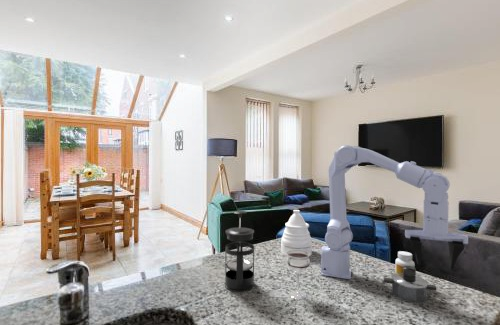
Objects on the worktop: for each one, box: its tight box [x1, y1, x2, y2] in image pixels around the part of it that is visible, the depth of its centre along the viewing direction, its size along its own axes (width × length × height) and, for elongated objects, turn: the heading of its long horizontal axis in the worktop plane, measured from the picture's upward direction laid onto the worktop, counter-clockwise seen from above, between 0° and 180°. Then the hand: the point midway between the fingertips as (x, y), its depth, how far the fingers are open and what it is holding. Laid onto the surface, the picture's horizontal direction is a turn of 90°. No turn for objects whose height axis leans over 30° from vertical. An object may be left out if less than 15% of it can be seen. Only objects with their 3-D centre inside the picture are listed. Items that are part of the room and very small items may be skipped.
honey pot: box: [280, 209, 313, 257], centre depth 116 cm, size 13×13×18 cm
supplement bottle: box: [394, 250, 416, 274], centre depth 87 cm, size 5×5×10 cm
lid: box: [391, 266, 429, 289], centre depth 80 cm, size 9×9×4 cm
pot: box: [383, 277, 437, 304], centre depth 80 cm, size 13×9×4 cm, turn 69°
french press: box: [224, 210, 255, 293], centre depth 85 cm, size 12×9×23 cm
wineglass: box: [286, 250, 311, 300], centre depth 80 cm, size 7×7×12 cm
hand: (434, 265), depth 77 cm, fingers open, 7 cm apart
